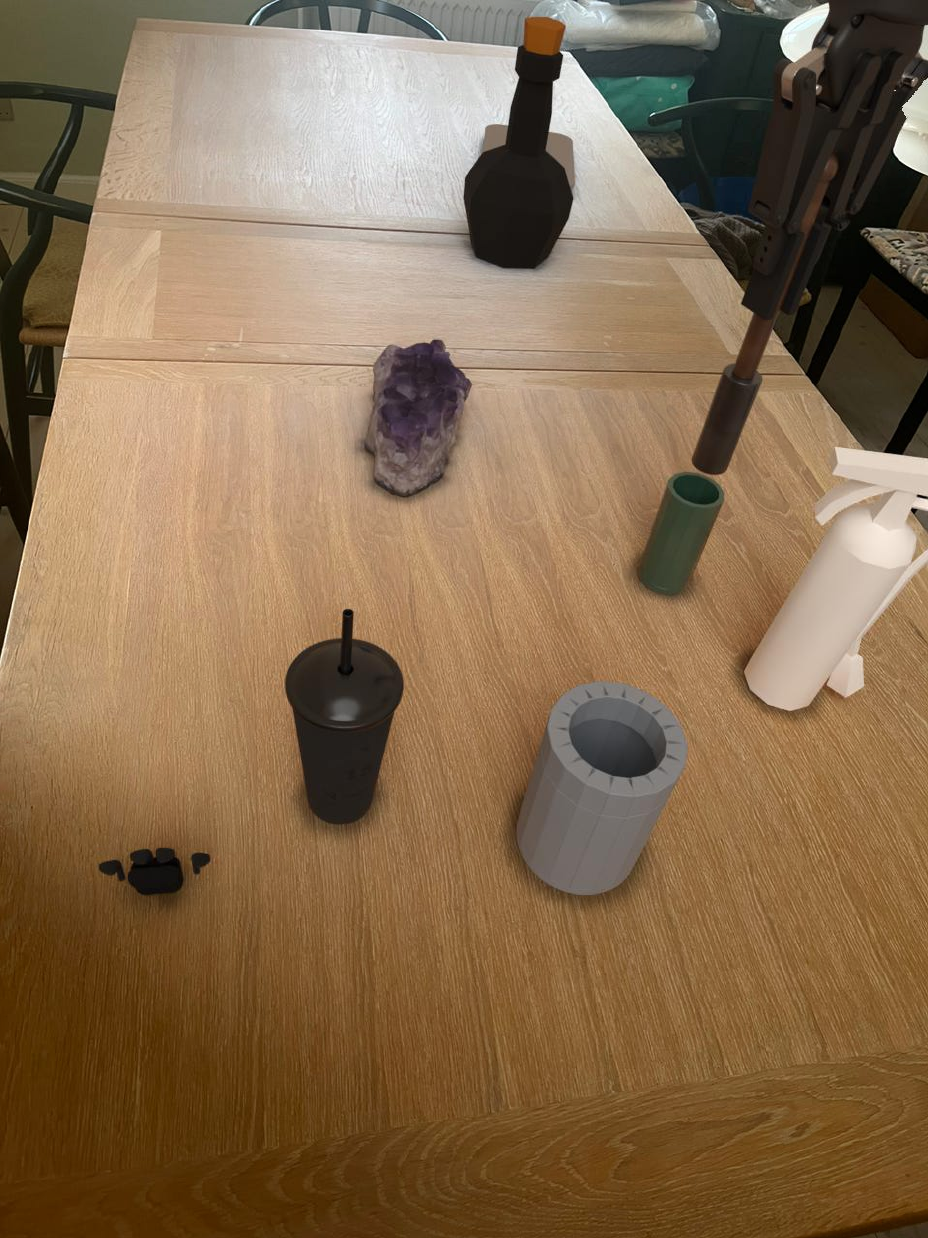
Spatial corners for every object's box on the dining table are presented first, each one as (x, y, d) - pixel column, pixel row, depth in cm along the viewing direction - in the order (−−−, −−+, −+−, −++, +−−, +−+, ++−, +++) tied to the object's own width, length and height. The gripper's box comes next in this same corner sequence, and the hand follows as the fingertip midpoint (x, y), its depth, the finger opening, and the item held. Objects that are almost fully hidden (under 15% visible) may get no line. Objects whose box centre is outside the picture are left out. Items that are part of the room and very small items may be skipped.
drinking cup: (267, 789, 69) (257, 601, 55) (349, 739, 73) (359, 552, 59) (329, 861, 65) (335, 681, 51) (411, 804, 69) (437, 623, 55)
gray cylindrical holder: (642, 804, 72) (691, 700, 63) (629, 911, 66) (682, 813, 56) (528, 773, 73) (560, 666, 64) (504, 876, 66) (536, 774, 57)
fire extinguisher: (861, 731, 80) (1020, 510, 62) (724, 700, 81) (842, 471, 63) (853, 674, 85) (998, 453, 67) (724, 645, 85) (834, 418, 68)
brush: (727, 458, 82) (849, 147, 63) (726, 478, 79) (852, 163, 61) (692, 449, 82) (803, 138, 63) (690, 470, 80) (804, 153, 61)
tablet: (477, 188, 154) (479, 174, 152) (484, 134, 172) (486, 121, 170) (572, 202, 155) (575, 188, 153) (569, 148, 173) (572, 135, 171)
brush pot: (690, 566, 93) (725, 479, 85) (686, 601, 89) (723, 513, 81) (639, 553, 93) (670, 466, 85) (634, 588, 90) (665, 499, 82)
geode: (468, 506, 95) (466, 427, 88) (357, 504, 96) (346, 425, 88) (474, 393, 109) (474, 315, 101) (377, 392, 109) (369, 315, 102)
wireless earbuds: (213, 872, 64) (208, 835, 60) (213, 906, 62) (207, 869, 58) (107, 882, 62) (95, 844, 59) (103, 917, 61) (90, 880, 57)
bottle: (447, 263, 133) (473, 25, 112) (467, 219, 145) (494, -5, 123) (555, 284, 133) (602, 49, 111) (566, 239, 144) (611, 17, 123)
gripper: (938, -81, 59) (799, 273, 75) (775, -88, 52) (663, 300, 69) (1039, -51, 55) (868, 316, 71) (876, -55, 48) (730, 350, 65)
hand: (768, 308), depth 70 cm, fingers closed on brush, 2 cm apart
